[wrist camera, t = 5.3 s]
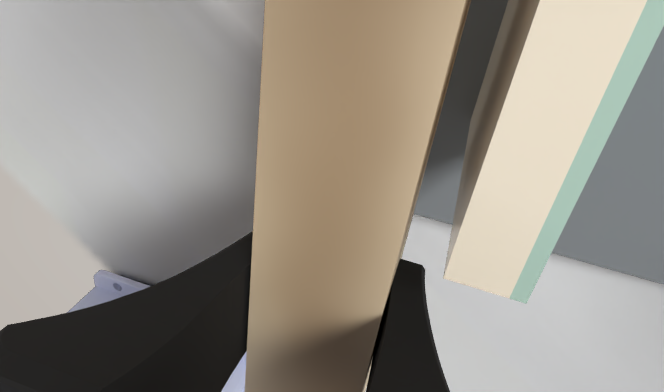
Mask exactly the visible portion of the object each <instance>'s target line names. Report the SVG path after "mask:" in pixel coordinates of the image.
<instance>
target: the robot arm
mask: <svg viewBox="0 0 664 392" xmlns="http://www.w3.org/2000/svg"><path fill="white" fill-rule="evenodd" d="M252 240H253V232H251V233H250V234H248V235H246V236H245V237H243V238H242V239H240V240H238V241H237V242H235V243H234V244H232V245H230V246H229V247H227V248H225V249H224V250H222V251H220V252H219V253H217V254H215V255H214V256H212V257H210V258H208V259H206V260H205V261H203V262H201V263H199V264H197V265H195V266H193V267H191V268H190V269H188V270H186V271H184V272H182V273H180V274H178V275H176V276H173V277H171V278H169V279H167V280H165V281H162V282H160V283H157V284H155V285H153V286H149V285H146V284H143V283H140V282H137V281H134V280H131V279H128V278H126V277H123V276H120V275H117V274H114V273H111V272H108V271H105V270H99V271H98V272H97V273H96V274H95V275H94V282H95V287H94V288H93V289H92V290H91V291H90V292H89V293H88V294H87V295H86V296H85V297H83V298H82V299H81V300H80V301H79V302H78V303H77V304H76V305H75V306H74V307H73V308H72V309H71V310H69V311H68V312H67V313H65V314H60V315H56V316H51V317H46V318H41V319H36V320H31V321H27V322H21V323H16V324H11V325H7V326H6V327H5V328H3V329H2V330H1V331H0V392H245V374H246V355H247V335H248V316H249V297H250V278H251V259H252ZM366 392H450V391H449V388H448V385H447V382H446V379H445V377H444V374H443V371H442V367H441V364H440V361H439V357H438V354H437V350H436V346H435V343H434V339H433V334H432V330H431V325H430V320H429V315H428V309H427V302H426V294H425V269H424V267H423V266H422V265H419V264H416V263H413V262H409V261H406V260H403V259H400V260H399V263H398V266H397V269H396V273H395V276H394V279H393V282H392V286H391V290H390V294H389V297H388V301H387V305H386V309H385V312H384V316H383V320H382V324H381V327H380V331H379V335H378V339H377V342H376V346H375V350H374V354H373V358H372V363H371V369H370V374H369V379H368V384H367V390H366Z"/></svg>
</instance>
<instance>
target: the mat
mask: <svg viewBox="0 0 664 392" xmlns="http://www.w3.org/2000/svg"><path fill="white" fill-rule="evenodd" d="M507 3H508V0H471V2H470V6H469V10H468V14H467V17H466V21H465V25H464V28H463V32H462V36H461V39H460V43H459V47H458V51H457V54H456V58H455V62H454V65H453V69H452V73H451V76H450V80H449V84H448V88H447V91H446V95H445V99H444V102H443V106H442V110H441V113H440V117H439V121H438V125H437V128H436V132H435V136H434V139H433V143H432V147H431V150H430V154H429V158H428V162H427V165H426V169H425V173H424V176H423V180H422V184H421V187H420V191H419V195H418V199H417V202H416V206H415V210H414V213H413V214H417V215H420V216H424V217H427V218H431V219H434V220H438V221H441V222H445V223H448V224H452V225H453V219H454V213H455V207H456V202H457V196H458V190H459V184H460V179H461V173H462V167H463V161H464V156H465V150H466V144H467V138H468V133H469V127H470V121H471V118H472V114H473V111H474V108H475V105H476V102H477V99H478V95H479V92H480V89H481V86H482V83H483V79H484V76H485V73H486V70H487V67H488V64H489V60H490V57H491V54H492V51H493V48H494V44H495V41H496V38H497V35H498V32H499V29H500V25H501V22H502V19H503V16H504V13H505V10H506V6H507ZM552 253H554V254H558V255H561V256H565V257H569V258H572V259H576V260H579V261H583V262H586V263H590V264H593V265H597V266H600V267H604V268H607V269H611V270H614V271H618V272H622V273H625V274H629V275H632V276H636V277H639V278H643V279H646V280H650V281H653V282H657V283H660V284H664V26H663V28H662V30H661V32H660V34H659V36H658V38H657V40H656V42H655V44H654V46H653V48H652V51H651V53H650V55H649V57H648V59H647V61H646V63H645V65H644V67H643V69H642V71H641V73H640V75H639V77H638V79H637V81H636V83H635V85H634V87H633V89H632V91H631V93H630V95H629V97H628V99H627V101H626V103H625V105H624V107H623V109H622V111H621V113H620V115H619V117H618V119H617V121H616V123H615V125H614V127H613V129H612V131H611V133H610V135H609V137H608V139H607V141H606V144H605V146H604V148H603V150H602V152H601V154H600V156H599V158H598V160H597V162H596V164H595V166H594V168H593V170H592V172H591V174H590V176H589V178H588V180H587V182H586V184H585V186H584V188H583V190H582V192H581V194H580V196H579V198H578V200H577V202H576V204H575V206H574V208H573V210H572V212H571V214H570V216H569V218H568V220H567V222H566V224H565V226H564V228H563V230H562V232H561V235H560V237H559V239H558V241H557V243H556V245H555V247H554V249H553V251H552Z"/></svg>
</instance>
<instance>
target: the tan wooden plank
mask: <svg viewBox="0 0 664 392" xmlns="http://www.w3.org/2000/svg"><path fill="white" fill-rule="evenodd" d="M470 2H471V0H265V10H264V29H263V48H262V67H261V87H260V106H259V125H258V144H257V163H256V182H255V201H254V221H253V240H252V259H251V278H250V297H249V316H248V335H247V355H246V374H245V392H365V390H366V387H367V383H368V379H369V374H370V369H371V363H372V358H373V354H374V350H375V346H376V342H377V339H378V335H379V331H380V327H381V324H382V320H383V316H384V312H385V309H386V305H387V301H388V297H389V294H390V290H391V286H392V282H393V279H394V276H395V273H396V269H397V266H398V263H399V260H400V259H401V258H402V254H403V250H404V247H405V243H406V239H407V236H408V232H409V228H410V224H411V221H412V217H413V213H414V210H415V206H416V202H417V199H418V195H419V191H420V187H421V184H422V180H423V176H424V173H425V169H426V165H427V162H428V158H429V154H430V150H431V147H432V143H433V139H434V136H435V132H436V128H437V125H438V121H439V117H440V113H441V110H442V106H443V102H444V99H445V95H446V91H447V88H448V84H449V80H450V76H451V73H452V69H453V65H454V62H455V58H456V54H457V51H458V47H459V43H460V39H461V36H462V32H463V28H464V25H465V21H466V17H467V14H468V10H469V6H470Z"/></svg>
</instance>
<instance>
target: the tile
mask: <svg viewBox="0 0 664 392" xmlns="http://www.w3.org/2000/svg"><path fill="white" fill-rule="evenodd" d="M663 26H664V0H508V3H507V6H506V10H505V13H504V16H503V19H502V22H501V25H500V29H499V32H498V35H497V38H496V41H495V44H494V48H493V51H492V54H491V57H490V60H489V64H488V67H487V70H486V73H485V76H484V79H483V83H482V86H481V89H480V92H479V95H478V99H477V102H476V105H475V108H474V111H473V114H472V118H471V121H470V127H469V133H468V138H467V144H466V150H465V156H464V161H463V167H462V173H461V179H460V184H459V190H458V196H457V202H456V207H455V213H454V219H453V225H452V230H451V236H450V242H449V248H448V253H447V259H446V265H445V271H444V276H443V278H444V279H447V280H450V281H454V282H457V283H460V284H464V285H467V286H470V287H473V288H477V289H480V290H483V291H487V292H490V293H493V294H496V295H500V296H503V297H506V298H510V299H513V300H516V301H519V302H523V303H527V301H528V299H529V297H530V295H531V293H532V291H533V289H534V287H535V285H536V283H537V281H538V279H539V277H540V275H541V273H542V271H543V269H544V267H545V265H546V263H547V261H548V259H549V257H550V255H551V253H552V251H553V249H554V247H555V245H556V243H557V241H558V239H559V237H560V235H561V232H562V230H563V228H564V226H565V224H566V222H567V220H568V218H569V216H570V214H571V212H572V210H573V208H574V206H575V204H576V202H577V200H578V198H579V196H580V194H581V192H582V190H583V188H584V186H585V184H586V182H587V180H588V178H589V176H590V174H591V172H592V170H593V168H594V166H595V164H596V162H597V160H598V158H599V156H600V154H601V152H602V150H603V148H604V146H605V144H606V141H607V139H608V137H609V135H610V133H611V131H612V129H613V127H614V125H615V123H616V121H617V119H618V117H619V115H620V113H621V111H622V109H623V107H624V105H625V103H626V101H627V99H628V97H629V95H630V93H631V91H632V89H633V87H634V85H635V83H636V81H637V79H638V77H639V75H640V73H641V71H642V69H643V67H644V65H645V63H646V61H647V59H648V57H649V55H650V53H651V51H652V48H653V46H654V44H655V42H656V40H657V38H658V36H659V34H660V32H661V30H662V28H663Z"/></svg>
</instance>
